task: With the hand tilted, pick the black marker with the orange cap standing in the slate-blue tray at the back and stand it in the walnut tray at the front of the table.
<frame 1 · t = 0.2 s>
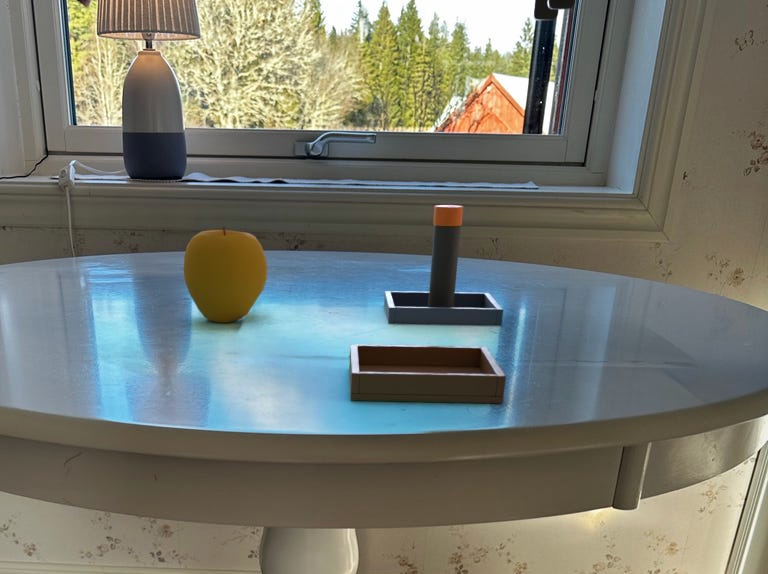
hand: (552, 14, 85), 27 cm above the table, tool pointing down, fingers open, 8 cm apart
marker: (440, 314, 99), resting on blue tray
apple: (227, 321, 98), on the table
blue tray: (439, 319, 99), on the table
walnut tray: (421, 385, 75), on the table
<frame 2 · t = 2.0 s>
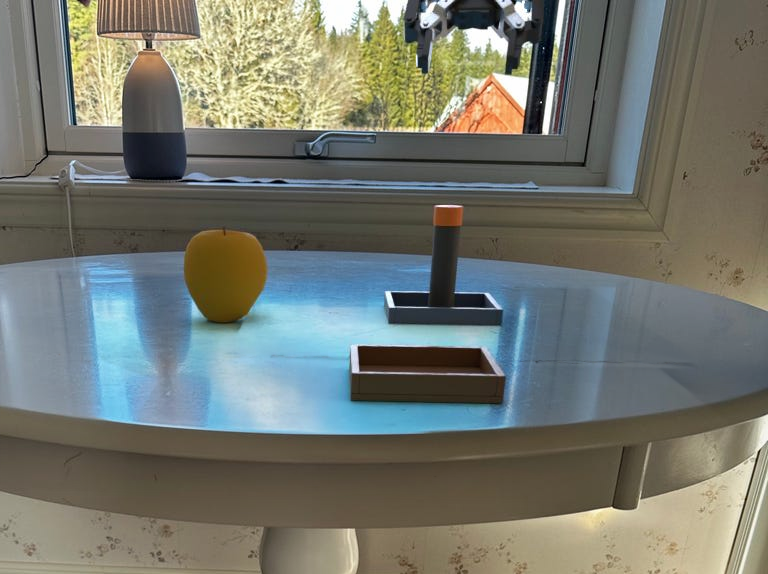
hand: (466, 67, 98), 23 cm above the table, tool tilted 45°, fingers open, 8 cm apart
nothing on the table moved.
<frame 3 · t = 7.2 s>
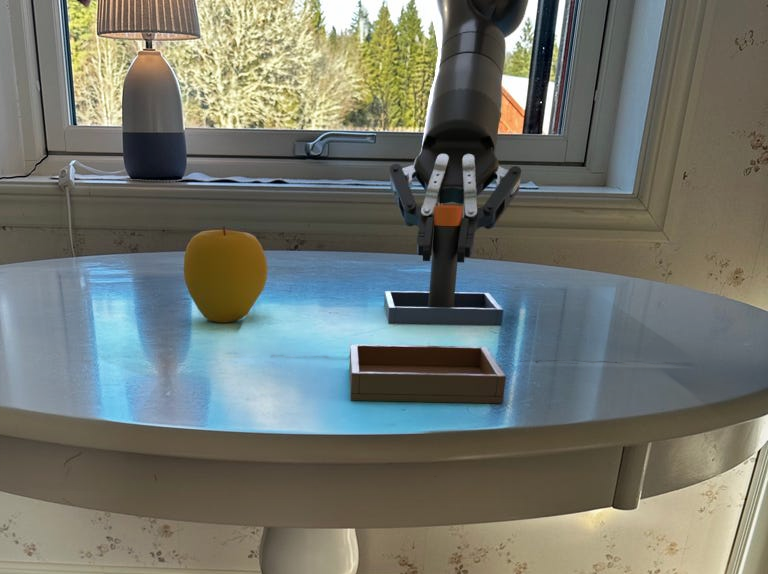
hand: (443, 255, 94), 6 cm above the table, tool tilted 45°, fingers closed on marker, 3 cm apart
marker: (440, 314, 99), point 1 cm above the table, touching blue tray, gripper
everything else where it was.
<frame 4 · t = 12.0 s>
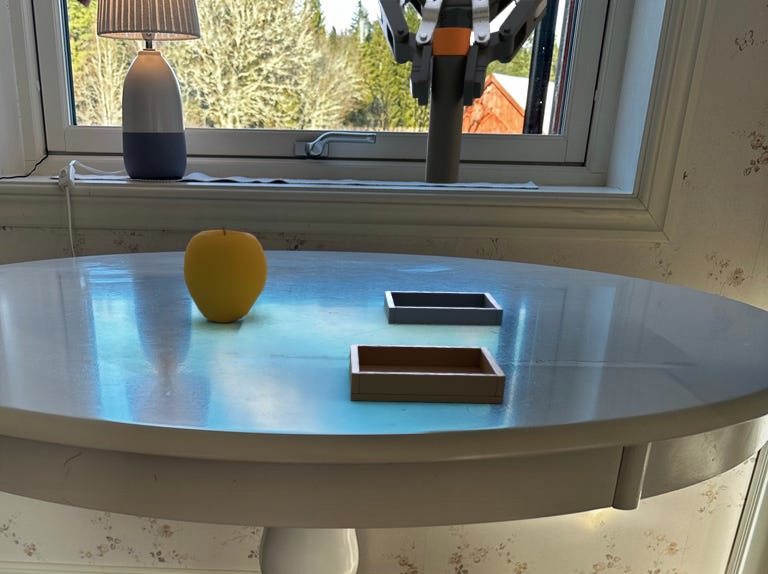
hand: (445, 96, 71), 20 cm above the table, tool tilted 45°, fingers closed on marker, 3 cm apart
marker: (441, 182, 76), point 14 cm above the table, touching gripper
everything else where it was.
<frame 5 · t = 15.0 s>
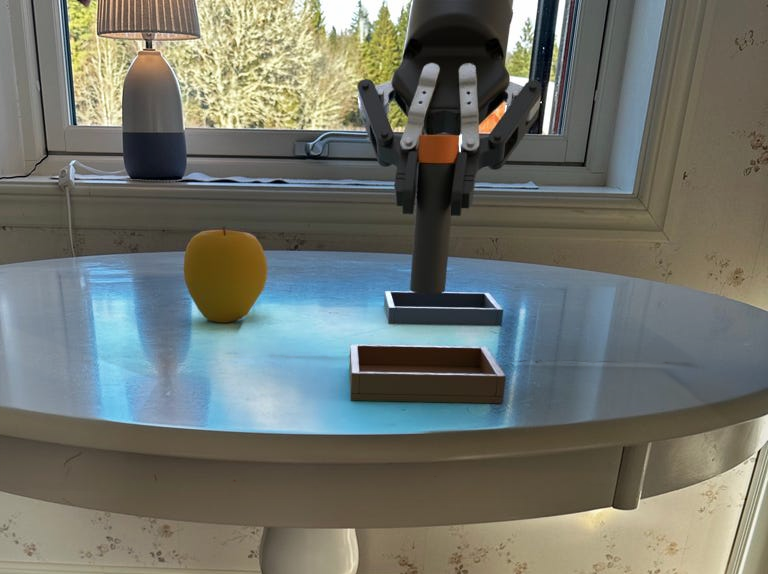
hand: (432, 206, 67), 13 cm above the table, tool tilted 45°, fingers closed on marker, 3 cm apart
marker: (427, 290, 71), point 7 cm above the table, touching gripper
everything else where it was.
when the fingers open (6 cm above the table, at t = 17.1 s): marker stays where it is, resting on walnut tray.
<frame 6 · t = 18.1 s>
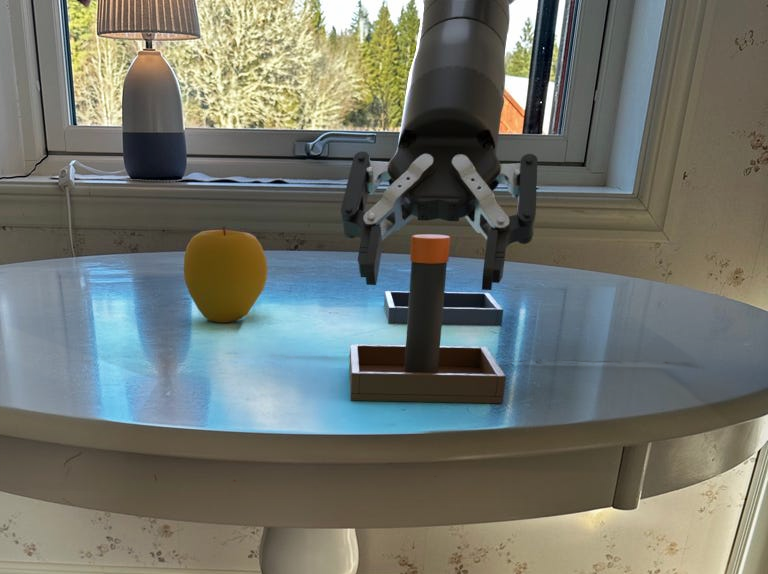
hand: (428, 280, 70), 8 cm above the table, tool tilted 45°, fingers open, 8 cm apart
marker: (420, 378, 74), resting on walnut tray
everything else where it was.
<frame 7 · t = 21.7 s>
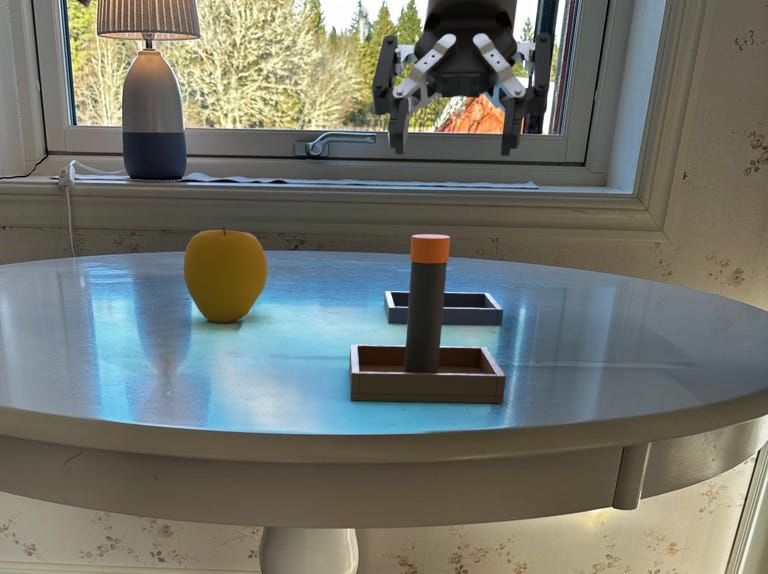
hand: (452, 147, 77), 16 cm above the table, tool tilted 45°, fingers open, 8 cm apart
nothing on the table moved.
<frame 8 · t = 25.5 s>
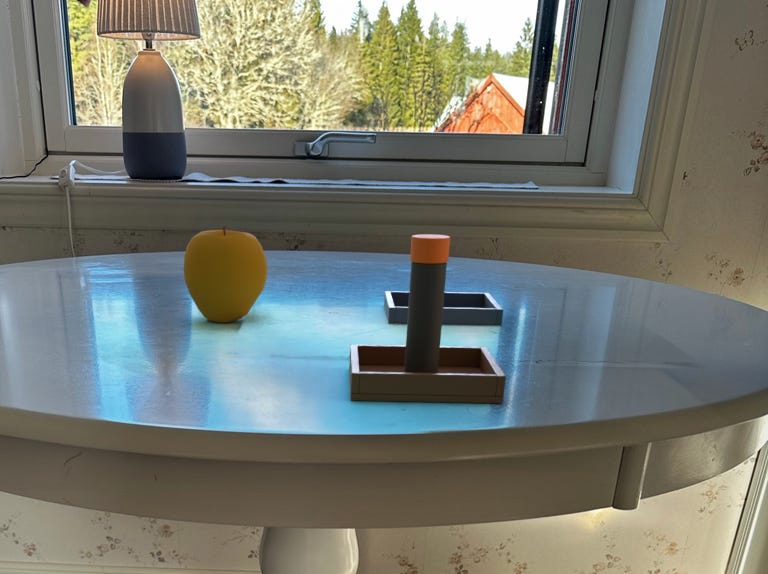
nothing on the table moved.
at the end: marker inside the target area in the walnut tray (0.1 cm from its centre), point 0.5 cm above the walnut tray's base; marker tilted 0°; the gripper is holding nothing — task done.
